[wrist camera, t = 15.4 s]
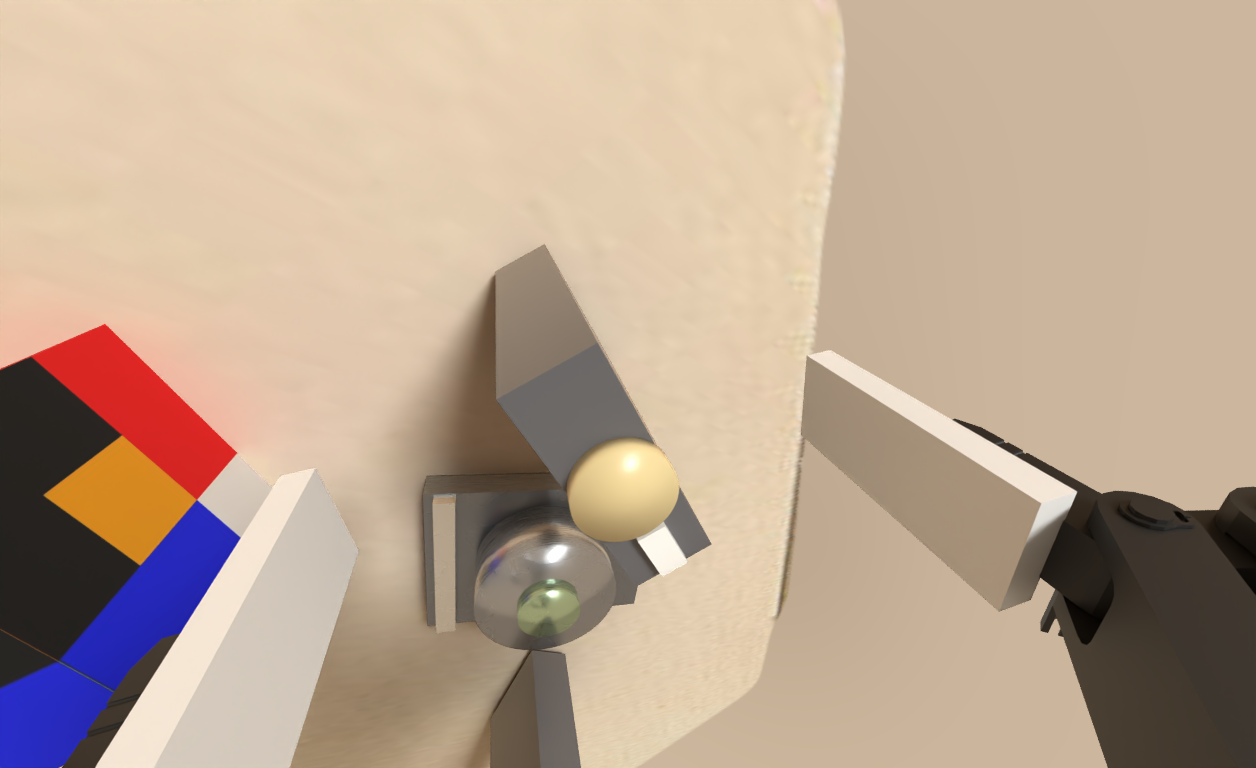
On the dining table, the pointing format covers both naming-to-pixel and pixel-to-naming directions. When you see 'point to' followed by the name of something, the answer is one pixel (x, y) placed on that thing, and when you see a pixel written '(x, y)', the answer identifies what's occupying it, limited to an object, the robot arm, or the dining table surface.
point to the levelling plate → (515, 561)
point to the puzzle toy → (100, 532)
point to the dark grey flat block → (536, 718)
